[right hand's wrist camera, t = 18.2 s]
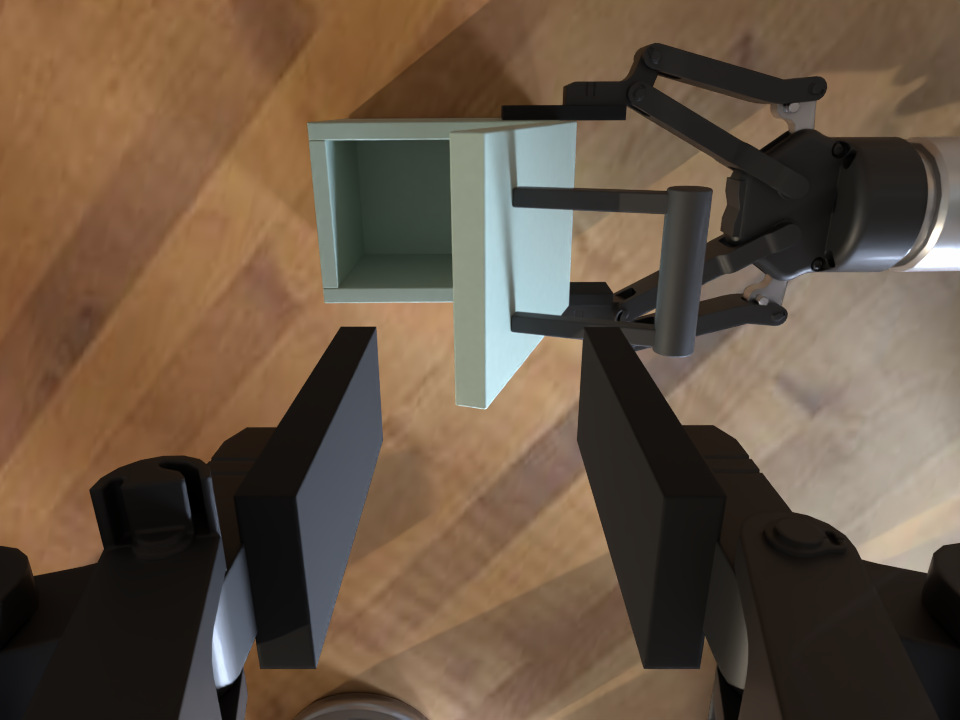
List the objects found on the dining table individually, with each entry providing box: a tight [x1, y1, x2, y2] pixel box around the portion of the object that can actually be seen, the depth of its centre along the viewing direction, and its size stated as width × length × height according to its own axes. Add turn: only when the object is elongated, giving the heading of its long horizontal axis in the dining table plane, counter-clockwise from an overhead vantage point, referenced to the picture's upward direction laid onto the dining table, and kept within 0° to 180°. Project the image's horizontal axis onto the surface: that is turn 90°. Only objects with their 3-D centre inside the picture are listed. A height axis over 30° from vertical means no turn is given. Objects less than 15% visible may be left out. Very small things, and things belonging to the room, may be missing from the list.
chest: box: [307, 118, 561, 303], centre depth 40 cm, size 13×10×10 cm
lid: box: [449, 121, 713, 409], centre depth 27 cm, size 14×10×8 cm
